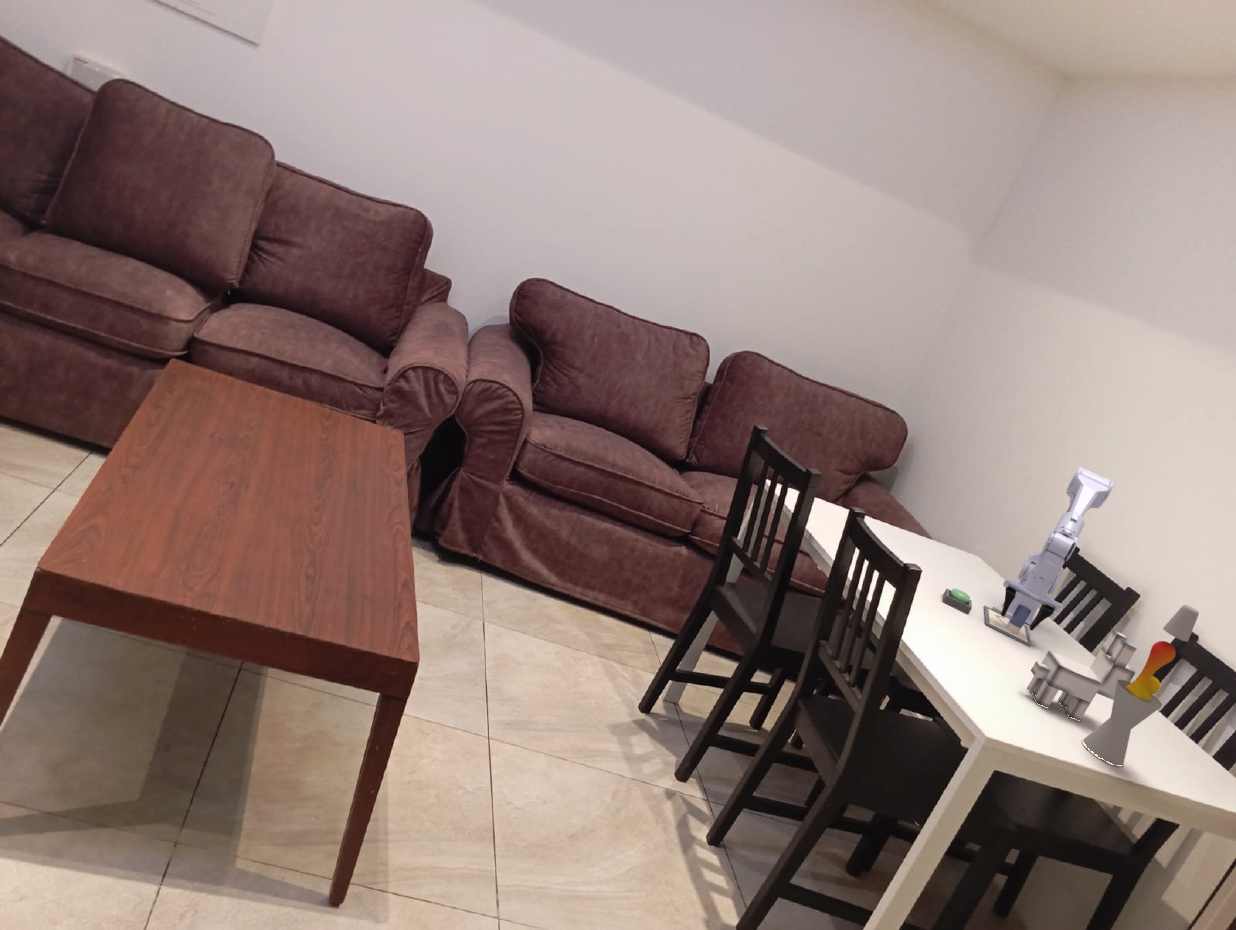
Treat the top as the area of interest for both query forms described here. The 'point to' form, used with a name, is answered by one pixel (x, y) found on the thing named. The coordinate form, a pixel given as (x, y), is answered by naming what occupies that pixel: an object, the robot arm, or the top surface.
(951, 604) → the button housing
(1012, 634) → the clipboard
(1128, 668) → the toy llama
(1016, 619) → the marker
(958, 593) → the button
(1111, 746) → the lava lamp
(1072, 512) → the robot arm
